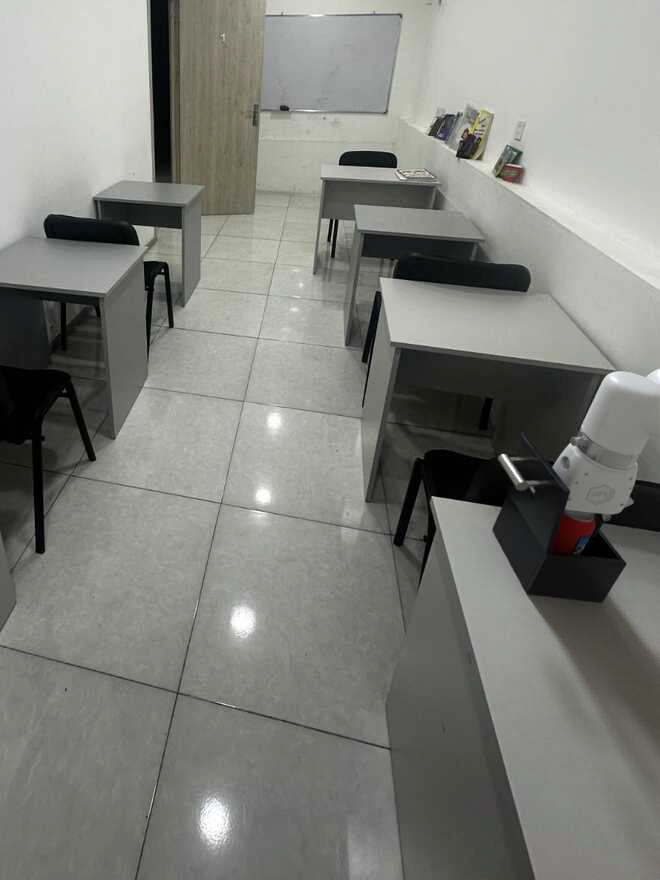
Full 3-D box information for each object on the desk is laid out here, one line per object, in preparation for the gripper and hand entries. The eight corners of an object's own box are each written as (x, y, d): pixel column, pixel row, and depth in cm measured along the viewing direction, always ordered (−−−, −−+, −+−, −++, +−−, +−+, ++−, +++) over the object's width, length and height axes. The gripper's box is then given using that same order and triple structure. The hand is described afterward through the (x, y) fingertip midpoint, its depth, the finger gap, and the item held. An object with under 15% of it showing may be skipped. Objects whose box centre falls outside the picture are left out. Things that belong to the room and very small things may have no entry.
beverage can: (578, 579, 80) (606, 529, 76) (533, 565, 82) (558, 516, 77) (565, 545, 86) (590, 497, 82) (523, 533, 88) (545, 485, 83)
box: (557, 536, 91) (577, 499, 87) (602, 603, 79) (627, 564, 76) (491, 529, 91) (508, 492, 87) (526, 594, 80) (547, 555, 76)
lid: (525, 432, 82) (491, 433, 82) (570, 491, 70) (530, 491, 71) (511, 490, 87) (479, 490, 88) (551, 553, 76) (514, 552, 76)
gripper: (563, 459, 71) (523, 542, 78) (683, 471, 71) (632, 553, 78) (535, 425, 78) (501, 504, 85) (644, 435, 78) (600, 514, 85)
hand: (564, 527), depth 81 cm, fingers closed on beverage can, 6 cm apart
